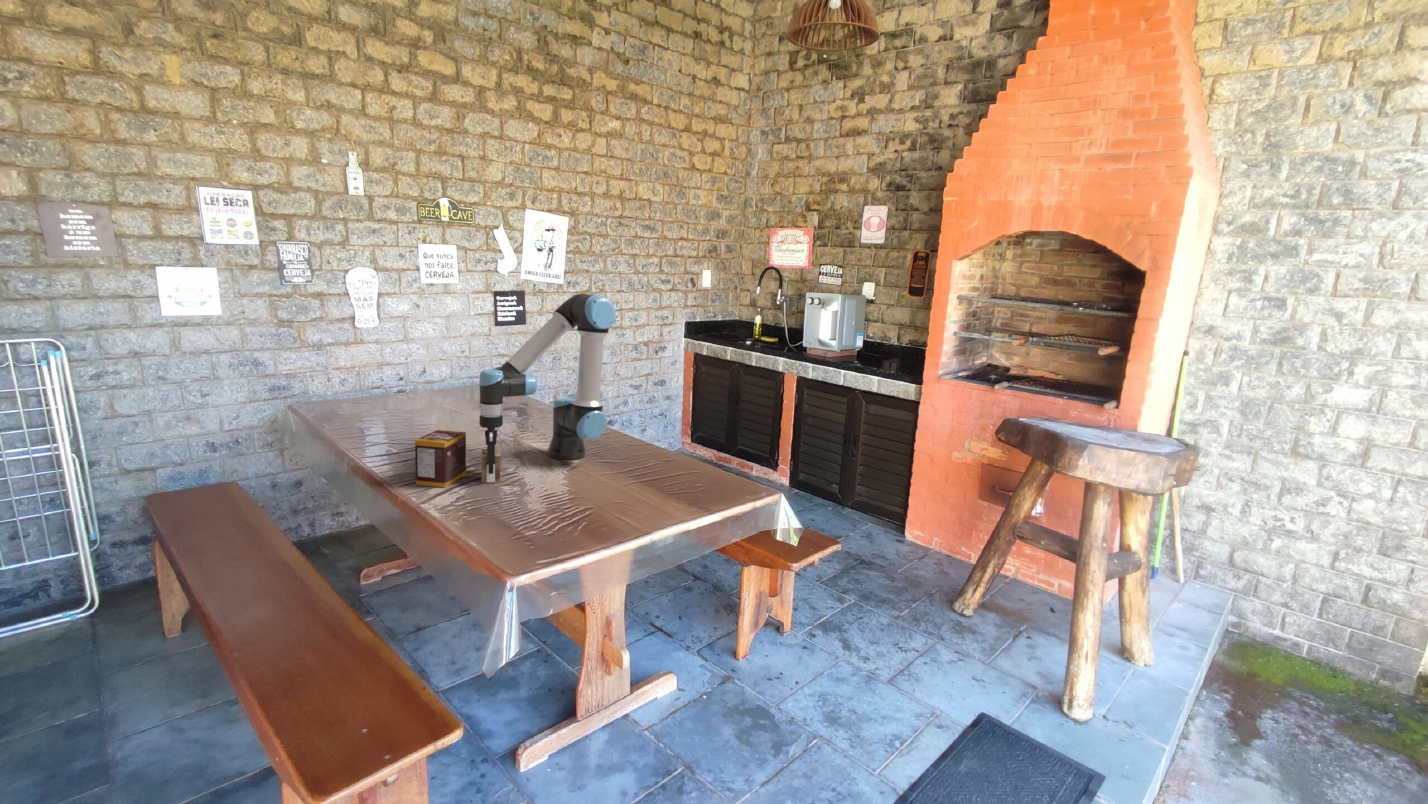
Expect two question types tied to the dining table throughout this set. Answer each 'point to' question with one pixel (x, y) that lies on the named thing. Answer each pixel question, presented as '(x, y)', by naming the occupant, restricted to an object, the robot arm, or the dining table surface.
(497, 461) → the walnut block
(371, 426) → the dining table surface
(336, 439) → the dining table surface
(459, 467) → the supplement box
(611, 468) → the dining table surface
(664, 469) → the dining table surface
